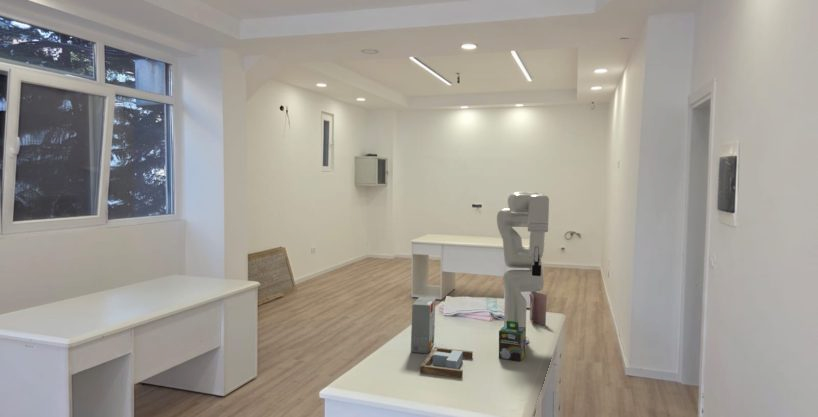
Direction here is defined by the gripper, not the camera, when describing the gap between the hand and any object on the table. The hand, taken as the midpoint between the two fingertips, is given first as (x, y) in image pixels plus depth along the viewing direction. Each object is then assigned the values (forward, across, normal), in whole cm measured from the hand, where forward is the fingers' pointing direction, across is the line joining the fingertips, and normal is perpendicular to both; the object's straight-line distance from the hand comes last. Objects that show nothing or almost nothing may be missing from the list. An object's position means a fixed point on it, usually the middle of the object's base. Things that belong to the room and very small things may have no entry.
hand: (536, 275), depth 201 cm
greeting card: (+35, -64, -2) cm, 73 cm away
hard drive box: (+35, -7, -46) cm, 58 cm away
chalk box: (+35, -8, -9) cm, 37 cm away
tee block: (+35, +10, -32) cm, 49 cm away
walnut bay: (+35, +10, -31) cm, 48 cm away
